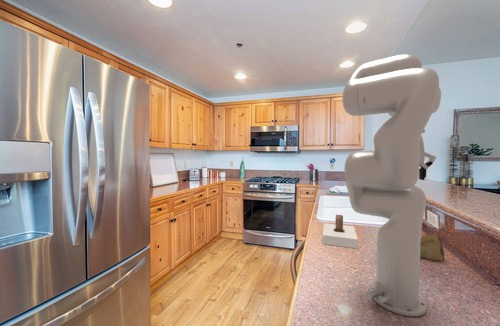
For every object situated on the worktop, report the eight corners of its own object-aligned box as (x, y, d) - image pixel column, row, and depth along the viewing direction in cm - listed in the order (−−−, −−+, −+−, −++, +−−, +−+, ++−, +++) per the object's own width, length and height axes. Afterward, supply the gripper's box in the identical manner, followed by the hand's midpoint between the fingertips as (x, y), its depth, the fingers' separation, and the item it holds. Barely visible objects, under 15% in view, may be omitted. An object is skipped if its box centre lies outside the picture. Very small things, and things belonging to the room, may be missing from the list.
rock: (404, 251, 84) (438, 257, 76) (406, 230, 88) (438, 233, 80) (414, 261, 89) (446, 268, 81) (415, 241, 92) (446, 245, 85)
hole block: (357, 248, 91) (357, 239, 91) (322, 244, 96) (322, 235, 96) (353, 234, 108) (353, 226, 108) (324, 230, 113) (324, 223, 113)
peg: (339, 240, 100) (339, 216, 100) (333, 238, 103) (334, 215, 103) (344, 239, 101) (344, 216, 101) (338, 237, 104) (339, 214, 104)
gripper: (431, 133, 81) (430, 179, 81) (378, 134, 87) (377, 177, 88) (441, 130, 74) (439, 181, 74) (382, 132, 80) (381, 179, 80)
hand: (406, 179), depth 81 cm, fingers open, 9 cm apart
